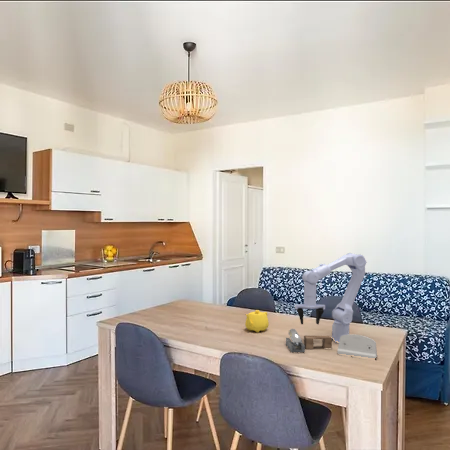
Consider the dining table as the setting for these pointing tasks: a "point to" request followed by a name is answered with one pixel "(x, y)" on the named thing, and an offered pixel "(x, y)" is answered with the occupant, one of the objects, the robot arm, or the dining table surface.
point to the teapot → (257, 321)
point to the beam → (309, 339)
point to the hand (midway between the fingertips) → (309, 323)
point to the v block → (293, 347)
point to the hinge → (357, 346)
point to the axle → (295, 337)
